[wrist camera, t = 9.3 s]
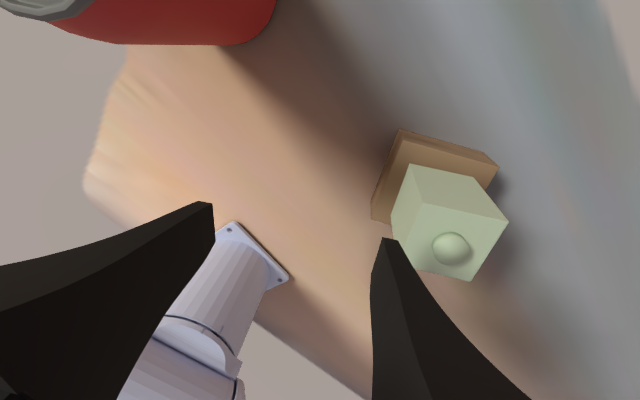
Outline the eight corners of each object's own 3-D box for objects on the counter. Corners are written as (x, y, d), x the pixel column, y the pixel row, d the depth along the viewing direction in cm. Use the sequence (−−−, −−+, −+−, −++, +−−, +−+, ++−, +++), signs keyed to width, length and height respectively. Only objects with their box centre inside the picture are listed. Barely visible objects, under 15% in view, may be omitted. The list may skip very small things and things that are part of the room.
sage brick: (447, 228, 19) (474, 290, 14) (390, 215, 19) (397, 272, 14) (473, 177, 17) (514, 229, 12) (409, 163, 17) (425, 209, 12)
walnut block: (442, 219, 22) (452, 242, 19) (370, 199, 22) (370, 219, 20) (481, 150, 19) (499, 167, 16) (398, 127, 19) (403, 140, 16)
